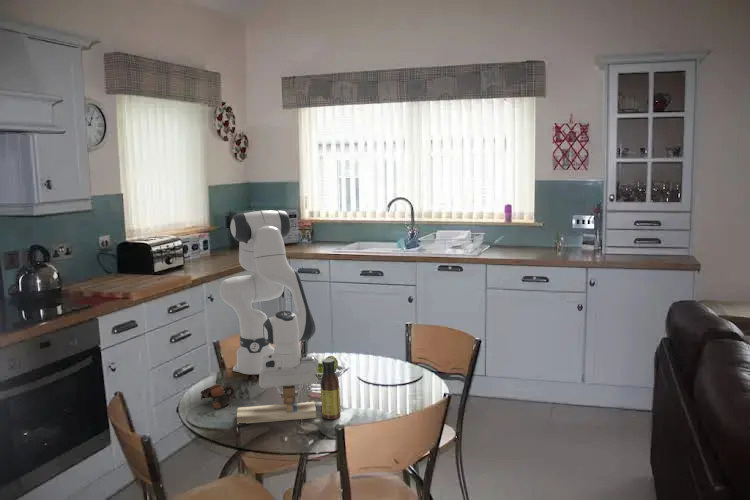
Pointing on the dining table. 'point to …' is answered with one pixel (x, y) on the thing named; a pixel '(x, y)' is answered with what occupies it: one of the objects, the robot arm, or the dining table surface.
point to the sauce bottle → (330, 390)
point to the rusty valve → (218, 394)
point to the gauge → (289, 397)
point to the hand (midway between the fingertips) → (289, 397)
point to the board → (275, 413)
